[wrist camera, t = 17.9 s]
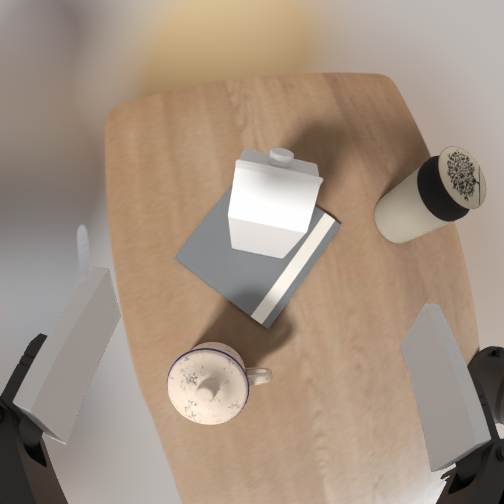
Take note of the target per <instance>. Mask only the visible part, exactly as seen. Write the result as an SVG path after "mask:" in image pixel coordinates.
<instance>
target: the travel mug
mask: <svg viewBox="0 0 504 504" xmlns="http://www.w3.org/2000/svg"><path fill="white" fill-rule="evenodd" d="M485 196H486V184H485V179H484V176H483V173H482V171H481V169H480V167H479V165H478V164H477V162H476V161H475V159H474V158H473V157H472V156H471V155H470V154H469V153H468V152H466V151H465V150H463V149H461V148H459V147H454V146H450V147H447V148H445V149H444V150H443V151H442V152H441V154H440V156H434V157H431V158H430V159H429V160H427V161H426V162H425V163H424V164H423V165H421V166H420V167H419V168H418V169H417V170H415V171H414V172H413V173H412V174H411V175H409V176H408V177H407V178H406V179H404V180H403V181H402V182H401V183H400V184H398V185H397V186H396V187H395V188H393V189H392V190H391V191H390V192H388V193H387V194H386V195H385V196H384V197H382V198H381V199H380V200H379V201H378V203H377V205H376V208H375V222H376V225H377V227H378V229H379V231H380V232H381V234H382V235H383V236H384V237H385V238H386V239H388V240H389V241H391V242H394V243H405V242H407V241H410V240H412V239H414V238H417V237H419V236H421V235H424V234H426V233H428V232H430V231H433V230H435V229H437V228H439V227H442V226H444V225H446V224H448V223H451V222H453V221H455V220H457V219H459V218H462V217H463V216H465V215H466V214H467V213H468V211H469V210H470V209H475V208H478V207H479V206H481V205H482V203H483V202H484V199H485Z"/></svg>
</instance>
